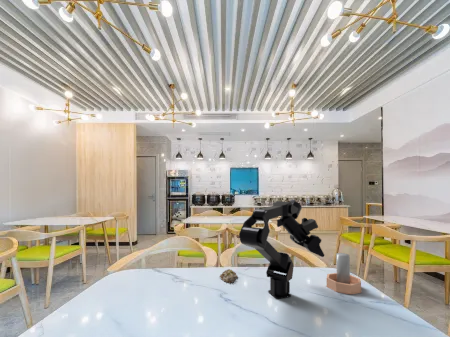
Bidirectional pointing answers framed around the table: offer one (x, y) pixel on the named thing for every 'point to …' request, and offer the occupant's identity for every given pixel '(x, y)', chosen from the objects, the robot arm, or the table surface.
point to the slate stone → (343, 268)
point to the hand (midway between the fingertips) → (317, 253)
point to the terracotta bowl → (342, 287)
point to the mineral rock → (228, 276)
